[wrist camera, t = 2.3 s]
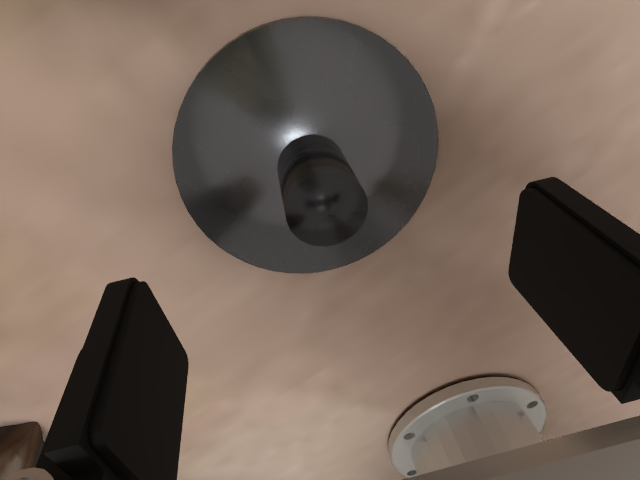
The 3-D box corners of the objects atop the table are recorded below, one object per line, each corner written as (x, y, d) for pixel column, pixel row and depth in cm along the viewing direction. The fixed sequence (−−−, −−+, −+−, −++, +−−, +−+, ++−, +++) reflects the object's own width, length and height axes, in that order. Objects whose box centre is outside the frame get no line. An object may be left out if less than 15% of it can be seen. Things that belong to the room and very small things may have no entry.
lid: (431, 233, 22) (475, 293, 18) (222, 283, 22) (217, 355, 18) (427, -13, 16) (494, -9, 12) (128, 50, 15) (86, 78, 11)
